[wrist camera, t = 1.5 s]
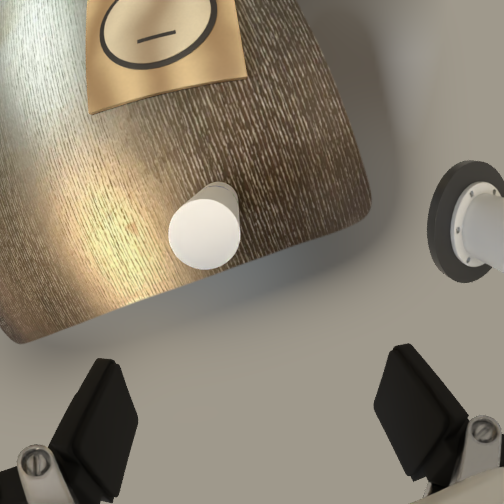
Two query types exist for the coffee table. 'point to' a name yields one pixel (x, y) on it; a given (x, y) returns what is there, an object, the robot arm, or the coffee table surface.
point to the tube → (207, 227)
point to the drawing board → (159, 48)
